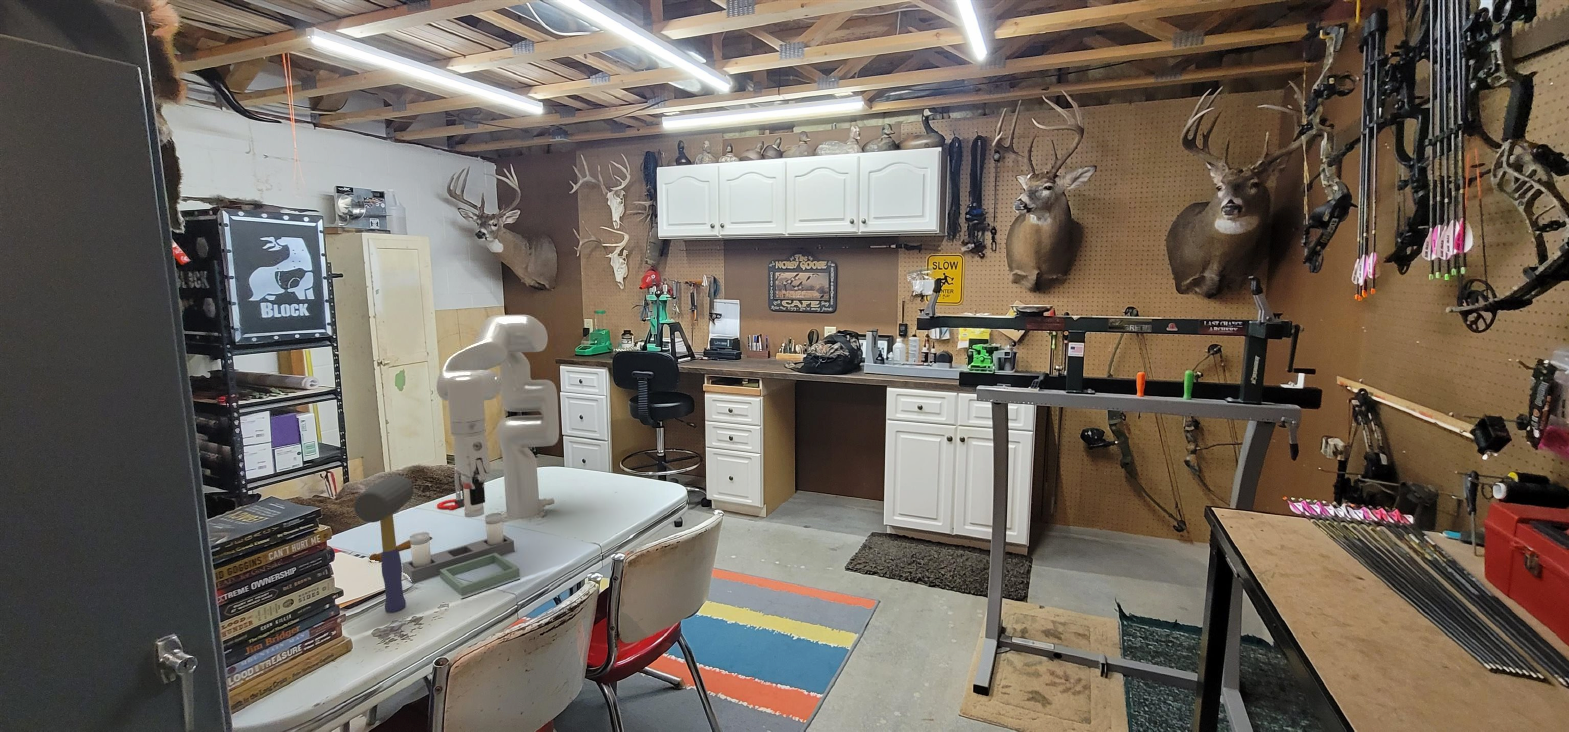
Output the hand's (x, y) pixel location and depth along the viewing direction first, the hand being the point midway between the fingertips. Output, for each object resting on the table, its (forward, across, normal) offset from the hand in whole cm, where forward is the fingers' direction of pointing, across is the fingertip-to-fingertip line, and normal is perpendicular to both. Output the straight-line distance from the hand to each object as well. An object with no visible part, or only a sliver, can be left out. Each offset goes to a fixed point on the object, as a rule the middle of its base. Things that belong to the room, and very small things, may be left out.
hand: (473, 500), depth 157 cm
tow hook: (+20, +63, -16) cm, 68 cm away
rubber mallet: (+20, -2, +19) cm, 28 cm away
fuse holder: (+20, +12, 0) cm, 24 cm away
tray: (+20, 0, 0) cm, 20 cm away
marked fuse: (+3, 0, 0) cm, 3 cm away
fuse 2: (+19, +12, -9) cm, 24 cm away
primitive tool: (+21, +35, +7) cm, 42 cm away
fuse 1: (+19, +12, +9) cm, 24 cm away
